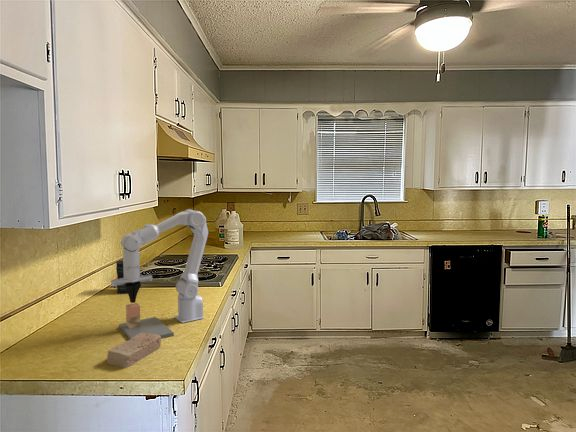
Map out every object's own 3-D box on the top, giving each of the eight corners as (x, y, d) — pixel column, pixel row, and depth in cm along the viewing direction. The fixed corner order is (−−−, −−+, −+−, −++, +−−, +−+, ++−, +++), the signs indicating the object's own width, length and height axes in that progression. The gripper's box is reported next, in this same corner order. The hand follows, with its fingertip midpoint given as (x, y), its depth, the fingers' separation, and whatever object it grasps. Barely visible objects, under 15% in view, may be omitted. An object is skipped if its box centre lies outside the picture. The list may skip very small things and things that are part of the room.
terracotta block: (137, 313, 159) (136, 303, 158) (140, 316, 155) (139, 305, 155) (126, 315, 156) (126, 304, 156) (129, 318, 153) (128, 307, 153)
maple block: (137, 323, 159) (137, 313, 159) (140, 326, 156) (140, 315, 155) (126, 325, 157) (126, 315, 156) (129, 328, 154) (129, 318, 153)
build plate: (155, 319, 166) (155, 316, 166) (173, 335, 150) (173, 332, 150) (119, 327, 158) (118, 324, 158) (134, 344, 142) (133, 341, 142)
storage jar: (141, 291, 206) (140, 261, 204) (121, 295, 199) (120, 264, 198) (133, 287, 213) (132, 258, 212) (113, 290, 206) (112, 261, 205)
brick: (127, 369, 125) (126, 354, 125) (105, 364, 128) (105, 349, 127) (162, 348, 140) (161, 334, 140) (142, 344, 143) (141, 331, 143)
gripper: (113, 271, 147) (115, 308, 148) (154, 265, 155) (155, 301, 156) (108, 267, 152) (110, 303, 154) (148, 262, 161) (149, 296, 162)
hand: (132, 302), depth 155 cm, fingers closed
